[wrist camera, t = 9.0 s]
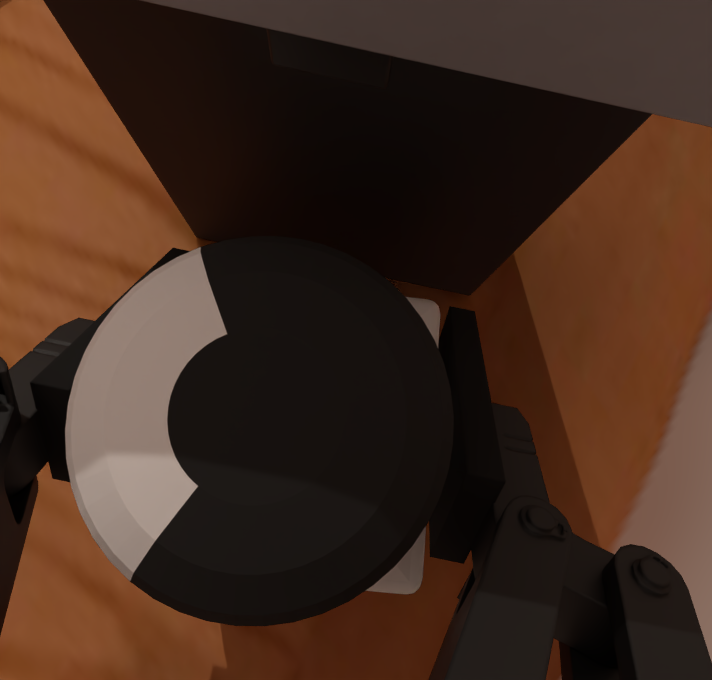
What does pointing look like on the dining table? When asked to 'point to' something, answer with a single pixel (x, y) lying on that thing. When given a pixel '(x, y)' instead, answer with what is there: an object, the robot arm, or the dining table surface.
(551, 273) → the dining table surface
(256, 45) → the lidded grey box
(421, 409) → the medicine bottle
